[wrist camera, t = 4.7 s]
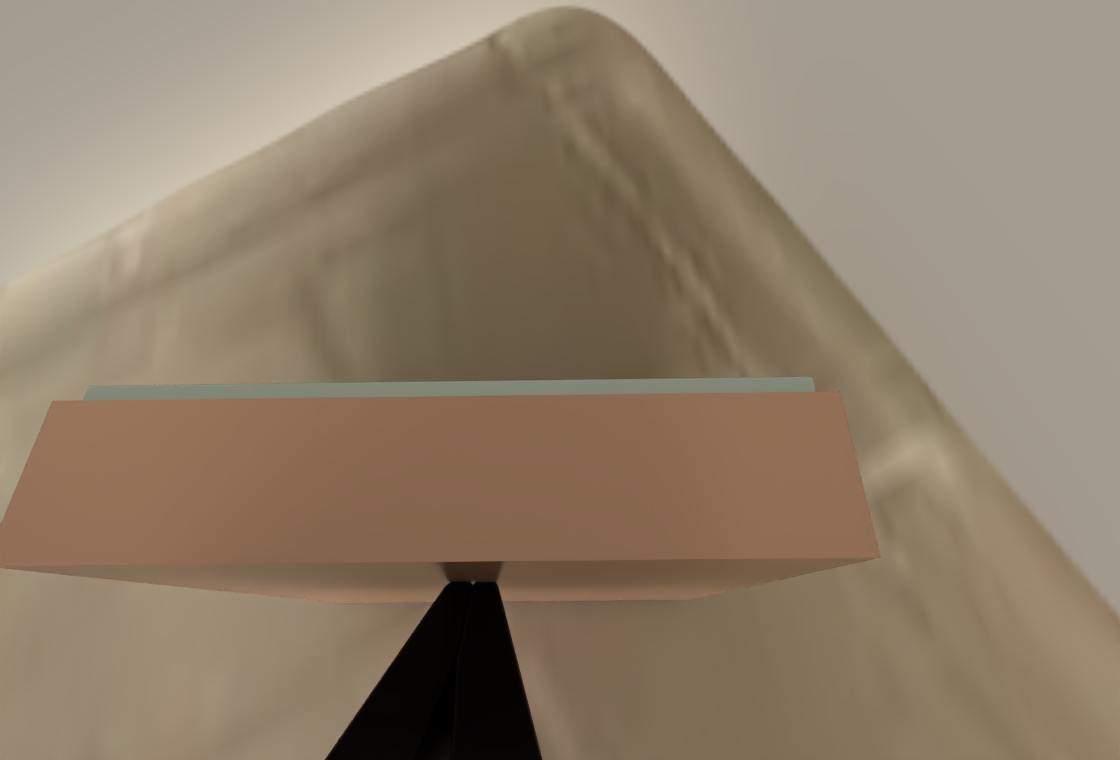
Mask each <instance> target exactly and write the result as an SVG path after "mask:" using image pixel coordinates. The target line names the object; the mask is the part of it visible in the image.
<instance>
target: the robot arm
mask: <svg viewBox="0 0 1120 760" xmlns="http://www.w3.org/2000/svg"><path fill="white" fill-rule="evenodd" d="M325 760H542V756H541V752H540V748H539V744H538V740H537V736H536V732H535V728H534V724H533V720H532V716H531V712H530V708H529V704H528V700H527V697H526V693H525V689H524V685H523V681H522V677H521V673H520V669H519V665H518V661H517V657H516V653H515V649H514V645H513V641H512V638H511V634H510V630H509V626H508V622H507V618H506V614H505V610H504V606H503V602H502V598H501V594H500V590H499V587H498V584H497V583H496V582H475V583H474V584H473V585H472V583H471V582H450V583H448V584H447V585H446V586H445V587H444V588H443V590H442V591H441V593H440V594H439V595H438V597H437V598H436V600H435V601H434V603H433V604H432V606H431V607H430V608H429V610H428V611H427V613H426V614H425V616H424V617H423V619H422V620H421V621H420V623H419V624H418V626H417V627H416V629H415V630H414V632H413V633H412V634H411V636H410V637H409V639H408V640H407V642H406V643H405V645H404V646H403V647H402V649H401V650H400V652H399V653H398V655H397V656H396V658H395V659H394V660H393V662H392V663H391V665H390V666H389V668H388V669H387V671H386V672H385V673H384V675H383V676H382V678H381V679H380V681H379V682H378V684H377V685H376V686H375V688H374V689H373V691H372V692H371V694H370V695H369V697H368V698H367V699H366V701H365V702H364V704H363V705H362V707H361V708H360V710H359V711H358V712H357V714H356V715H355V717H354V718H353V720H352V721H351V723H350V724H349V725H348V727H347V728H346V730H345V731H344V733H343V734H342V736H341V737H340V738H339V740H338V741H337V743H336V744H335V746H334V747H333V749H332V750H331V751H330V753H329V754H328V756H327V757H326V759H325Z"/></svg>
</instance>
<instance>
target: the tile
mask: <svg viewBox="0 0 1120 760" xmlns="http://www.w3.org/2000/svg"><path fill="white" fill-rule="evenodd" d="M876 558H880V554H879V550H878V546H877V542H876V537H875V533H874V529H873V525H872V521H871V517H870V513H869V509H868V505H867V501H866V497H865V493H864V489H863V485H862V481H861V476H860V472H859V468H858V464H857V460H856V456H855V452H854V448H853V444H852V440H851V436H850V432H849V428H848V424H847V420H846V415H845V411H844V407H843V403H842V399H841V395H840V391H839V392H816V391H815V387H814V382H813V378H812V377H760V378H679V379H598V380H517V381H437V382H356V383H275V384H194V385H114V386H89V387H88V390H87V392H86V395H85V397H84V400H83V401H52V403H51V405H50V408H49V410H48V413H47V415H46V417H45V420H44V422H43V425H42V427H41V429H40V432H39V434H38V437H37V439H36V441H35V444H34V446H33V449H32V451H31V453H30V456H29V458H28V460H27V463H26V465H25V468H24V470H23V472H22V475H21V477H20V480H19V482H18V484H17V487H16V489H15V492H14V494H13V496H12V499H11V501H10V503H9V506H8V508H7V511H6V513H5V515H4V518H3V520H2V523H1V525H0V568H5V569H14V570H24V571H33V572H43V573H53V574H62V575H72V576H81V577H91V578H101V579H110V580H120V581H129V582H139V583H149V584H158V585H168V586H177V587H187V588H197V589H206V590H216V591H225V592H235V593H245V594H254V595H264V596H273V597H283V598H293V599H302V600H312V601H321V602H331V603H376V602H434V601H435V600H436V598H437V597H438V595H439V594H440V593H441V591H442V590H443V588H444V587H445V586H446V585H447V584H448V583H450V582H471V583H472V585H473V584H474V583H475V582H496V583H497V584H498V587H499V590H500V594H501V598H502V601H593V600H691V599H696V598H700V597H705V596H709V595H714V594H718V593H723V592H727V591H732V590H736V589H741V588H745V587H750V586H754V585H759V584H763V583H768V582H772V581H777V580H781V579H786V578H790V577H795V576H799V575H804V574H808V573H813V572H817V571H822V570H826V569H831V568H835V567H840V566H844V565H849V564H853V563H858V562H862V561H867V560H871V559H876Z"/></svg>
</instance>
